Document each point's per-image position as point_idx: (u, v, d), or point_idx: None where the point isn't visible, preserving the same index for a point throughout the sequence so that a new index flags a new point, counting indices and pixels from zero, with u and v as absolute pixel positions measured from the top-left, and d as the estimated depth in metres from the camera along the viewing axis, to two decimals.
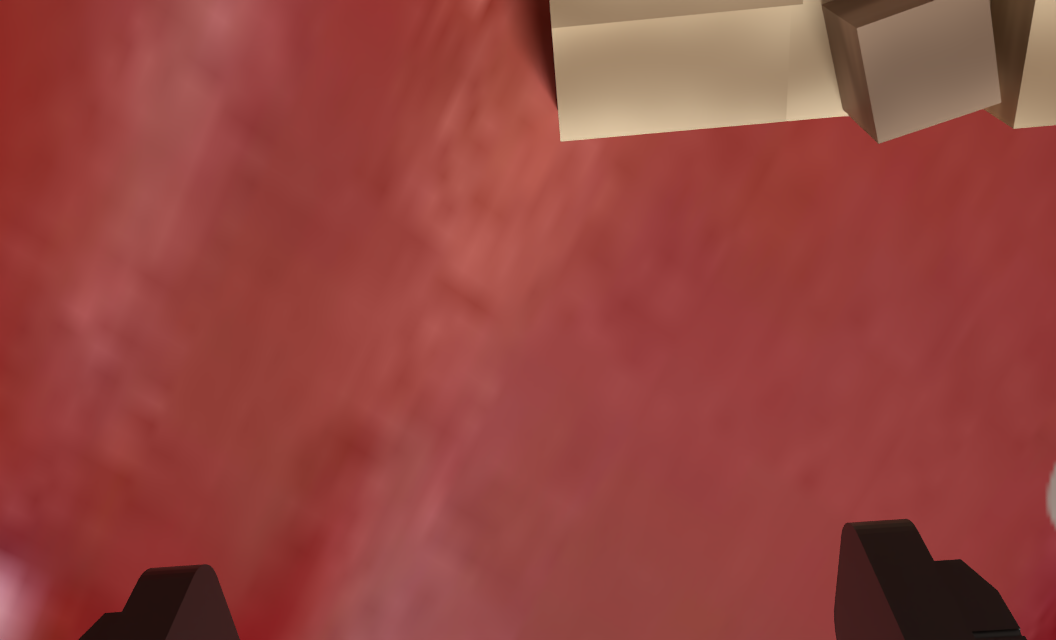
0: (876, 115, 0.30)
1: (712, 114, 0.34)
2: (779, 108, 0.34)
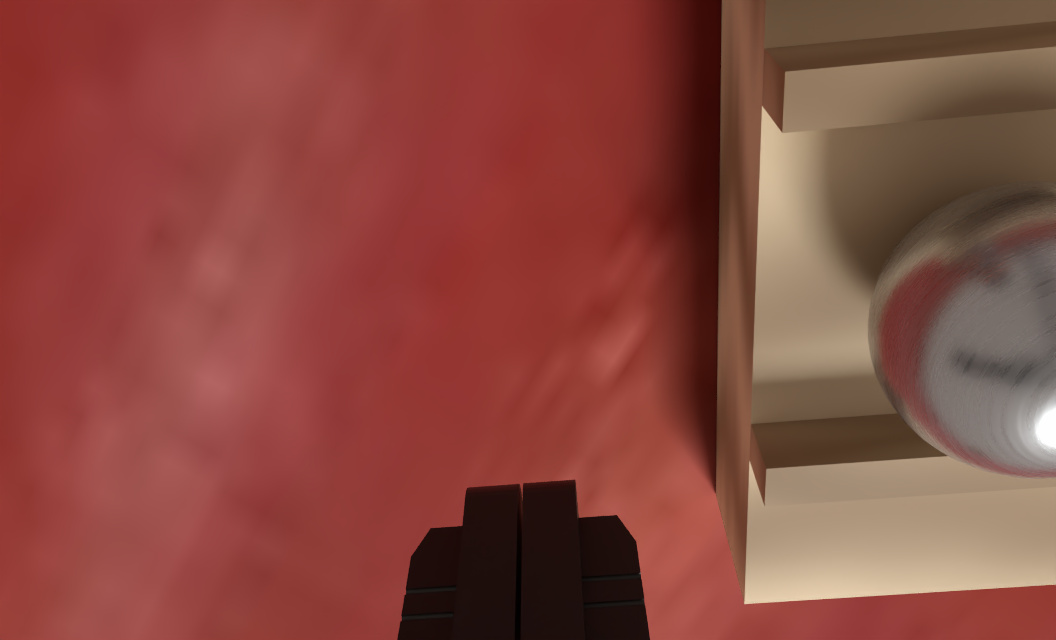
0: None
1: (986, 573, 0.22)
2: None
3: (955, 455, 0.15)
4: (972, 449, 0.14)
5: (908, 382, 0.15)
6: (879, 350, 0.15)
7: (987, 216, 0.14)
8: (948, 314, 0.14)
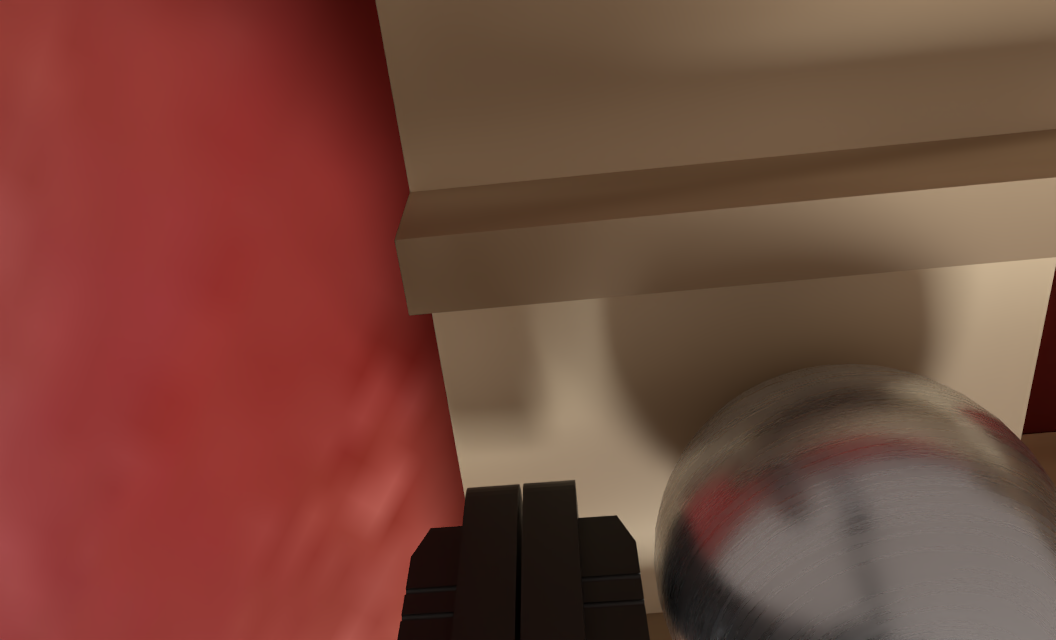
0: None
1: None
2: None
3: None
4: None
5: None
6: (661, 595, 0.11)
7: (780, 434, 0.10)
8: (725, 579, 0.10)
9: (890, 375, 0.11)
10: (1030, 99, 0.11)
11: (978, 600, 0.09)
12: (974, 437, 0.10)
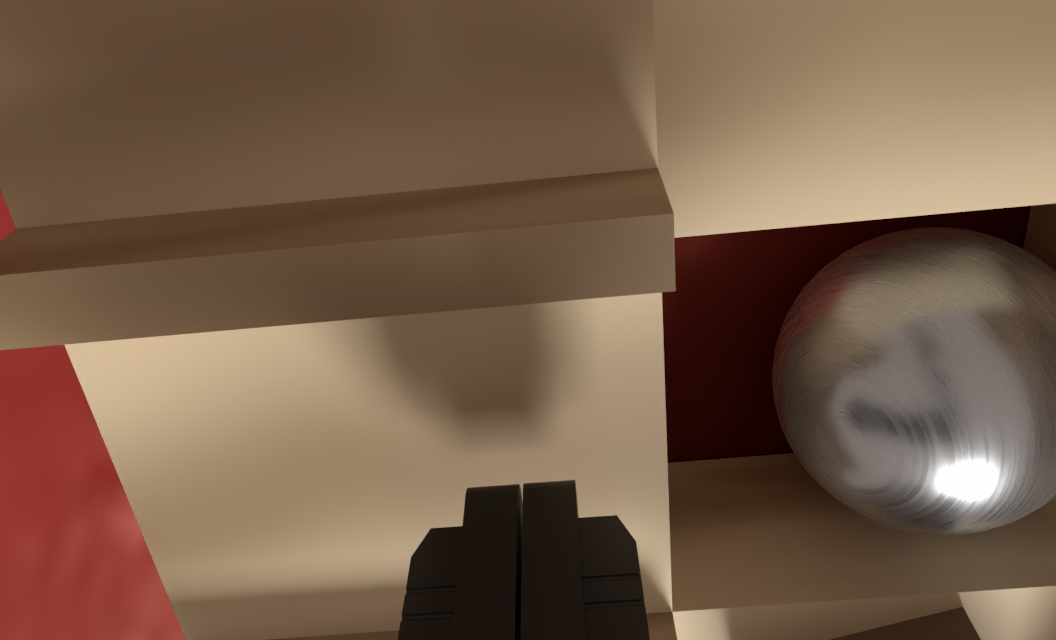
0: None
1: None
2: None
3: None
4: None
5: None
6: None
7: (1022, 270, 0.13)
8: None
9: (899, 251, 0.14)
10: (599, 142, 0.11)
11: None
12: None
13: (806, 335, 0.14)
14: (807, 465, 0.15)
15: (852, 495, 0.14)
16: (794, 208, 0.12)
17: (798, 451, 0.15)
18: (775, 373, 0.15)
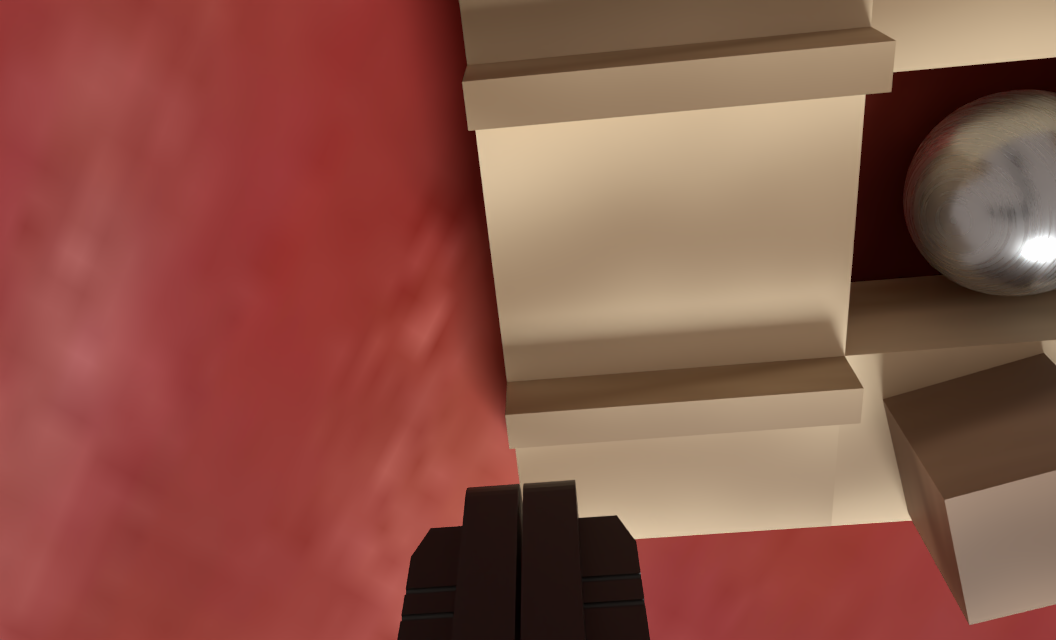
0: (968, 594, 0.21)
1: (731, 518, 0.25)
2: (822, 512, 0.25)
3: None
4: None
5: None
6: None
7: None
8: None
9: (996, 99, 0.21)
10: (837, 9, 0.19)
11: None
12: (1002, 93, 0.22)
13: (932, 155, 0.22)
14: (927, 246, 0.22)
15: (958, 260, 0.21)
16: (952, 54, 0.19)
17: (921, 237, 0.22)
18: (907, 188, 0.22)
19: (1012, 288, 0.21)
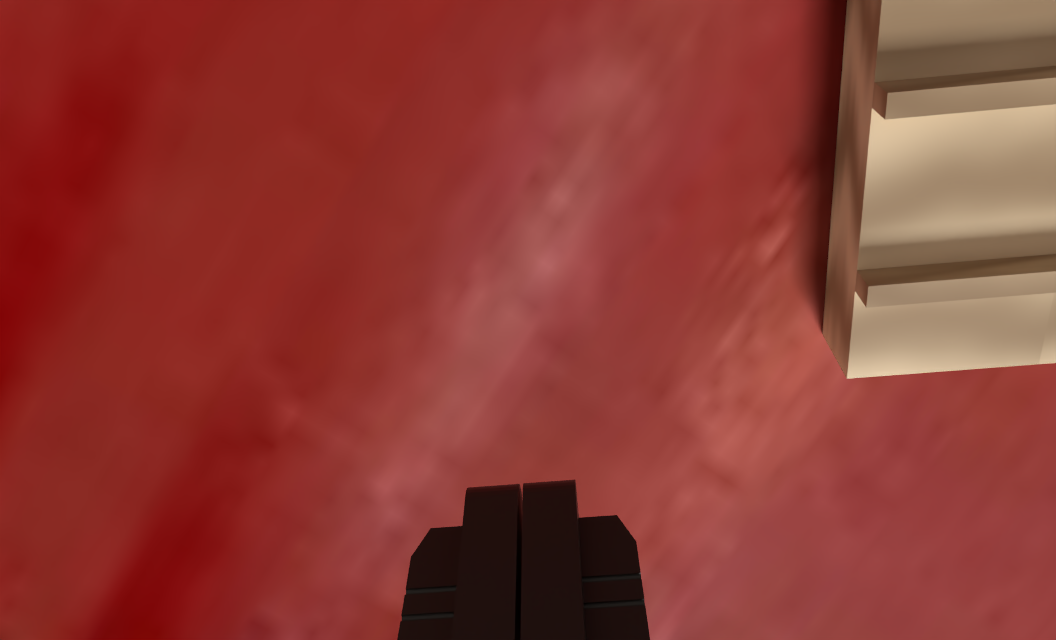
0: None
1: (977, 359, 0.40)
2: (1034, 355, 0.40)
3: None
4: None
5: None
6: None
7: None
8: None
9: None
10: None
11: None
12: None
13: None
14: None
15: None
16: None
17: None
18: None
19: None
